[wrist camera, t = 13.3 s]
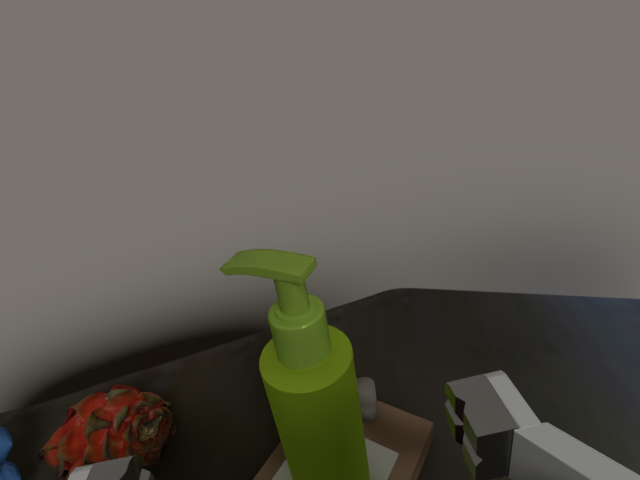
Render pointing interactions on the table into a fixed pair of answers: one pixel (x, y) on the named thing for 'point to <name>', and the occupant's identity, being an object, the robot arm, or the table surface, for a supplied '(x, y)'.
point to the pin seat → (376, 441)
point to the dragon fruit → (111, 430)
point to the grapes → (3, 475)
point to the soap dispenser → (307, 373)
